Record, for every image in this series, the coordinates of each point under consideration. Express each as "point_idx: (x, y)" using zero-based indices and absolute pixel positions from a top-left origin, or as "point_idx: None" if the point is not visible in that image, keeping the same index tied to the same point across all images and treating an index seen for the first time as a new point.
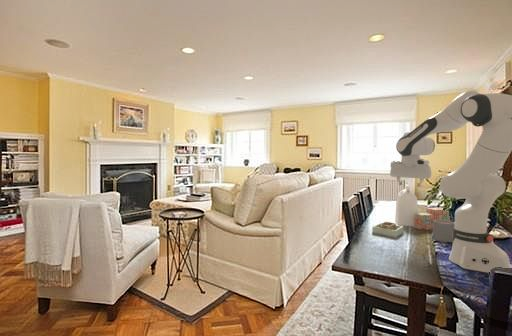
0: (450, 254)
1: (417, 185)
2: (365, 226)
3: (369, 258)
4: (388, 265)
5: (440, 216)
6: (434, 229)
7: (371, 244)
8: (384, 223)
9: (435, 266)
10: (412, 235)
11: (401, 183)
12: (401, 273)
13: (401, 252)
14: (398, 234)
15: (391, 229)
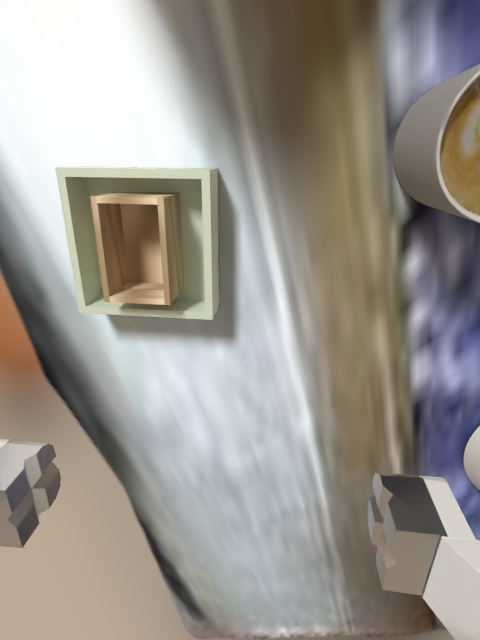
0: (478, 476)
1: (377, 538)
2: None
3: (233, 569)
4: (295, 587)
5: None
6: (423, 193)
7: (178, 456)
8: (104, 233)
9: None
10: (277, 182)
11: (36, 508)
12: (337, 613)
13: (298, 478)
14: (217, 262)
15: (175, 280)
